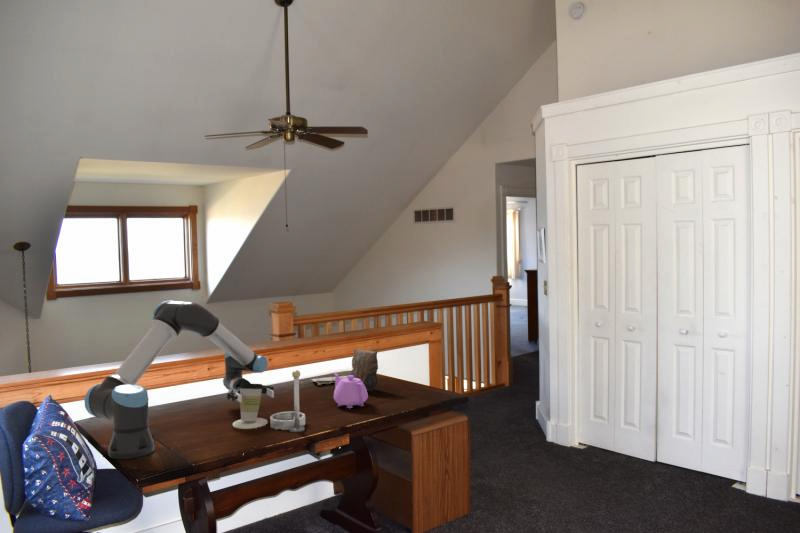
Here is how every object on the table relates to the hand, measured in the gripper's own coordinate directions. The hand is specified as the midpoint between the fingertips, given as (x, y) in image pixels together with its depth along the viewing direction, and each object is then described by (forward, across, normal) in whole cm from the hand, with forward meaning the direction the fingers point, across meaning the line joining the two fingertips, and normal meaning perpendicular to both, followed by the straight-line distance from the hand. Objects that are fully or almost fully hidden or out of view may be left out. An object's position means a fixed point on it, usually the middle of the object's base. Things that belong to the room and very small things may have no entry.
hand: (257, 396), depth 254 cm
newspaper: (-50, -66, -12) cm, 84 cm away
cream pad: (-1, +3, -11) cm, 12 cm away
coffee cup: (-2, +3, -10) cm, 11 cm away
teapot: (-4, -45, -12) cm, 47 cm away
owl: (-26, -63, -12) cm, 69 cm away
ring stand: (+11, -9, -11) cm, 18 cm away
